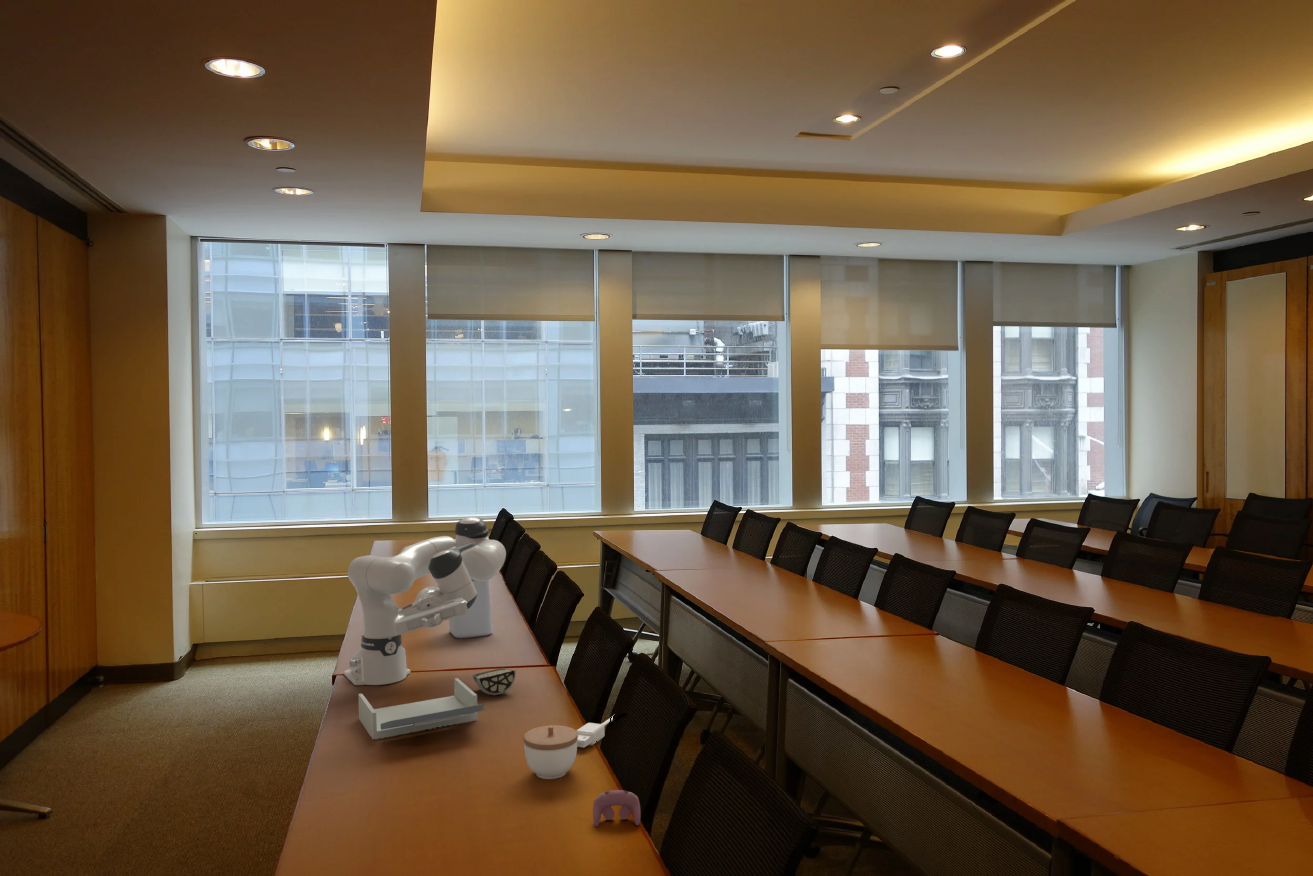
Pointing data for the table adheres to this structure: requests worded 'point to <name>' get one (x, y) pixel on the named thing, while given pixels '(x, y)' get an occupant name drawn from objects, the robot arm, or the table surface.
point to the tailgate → (432, 717)
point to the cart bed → (416, 712)
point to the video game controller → (616, 798)
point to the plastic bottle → (475, 615)
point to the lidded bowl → (550, 750)
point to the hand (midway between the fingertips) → (431, 623)
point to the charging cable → (591, 733)
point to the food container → (495, 680)
